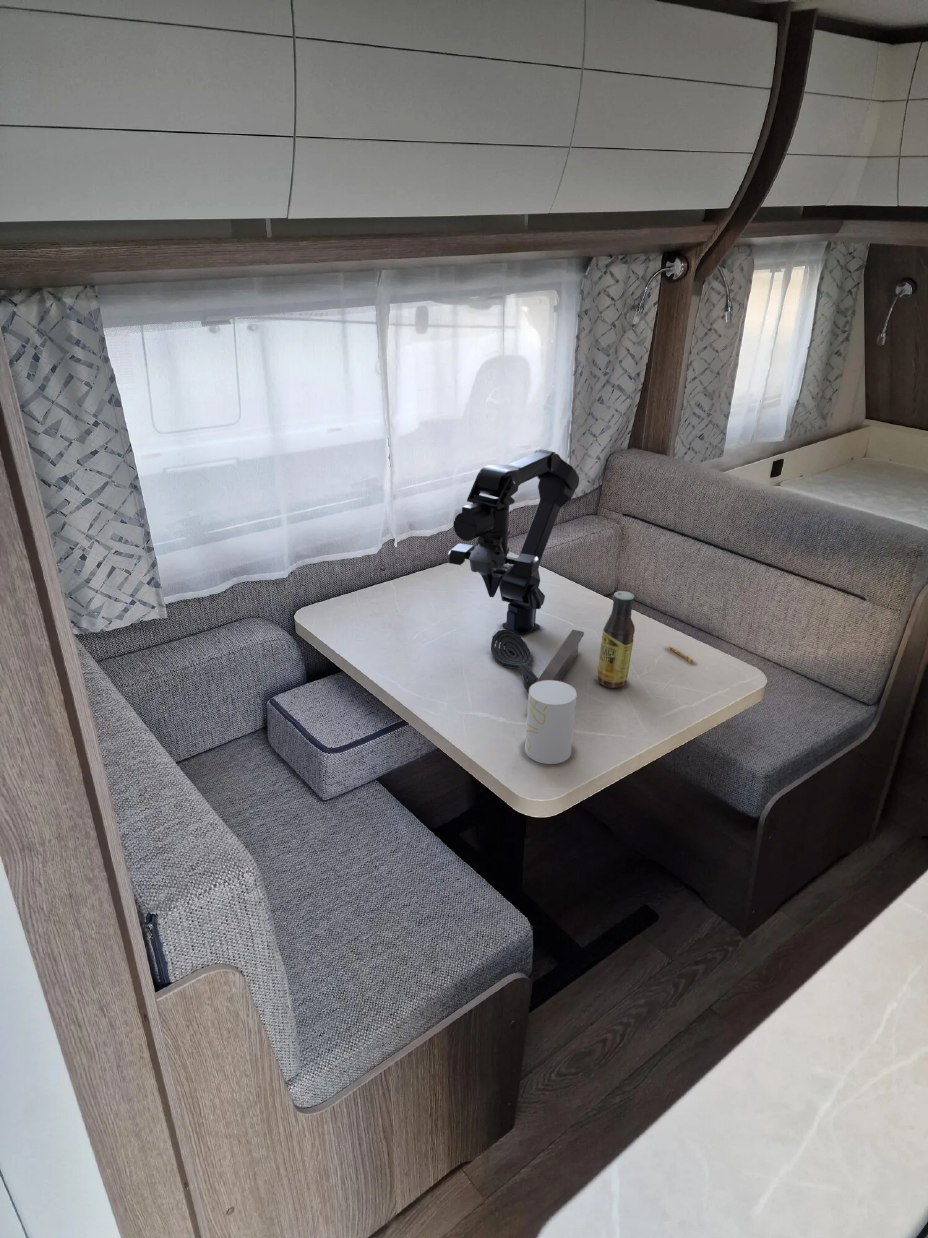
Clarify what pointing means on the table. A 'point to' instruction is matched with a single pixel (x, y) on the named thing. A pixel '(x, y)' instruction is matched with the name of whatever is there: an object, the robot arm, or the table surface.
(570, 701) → the cup
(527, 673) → the hairbrush
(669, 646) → the golden brown bumpy stick
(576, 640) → the rail
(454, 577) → the table surface
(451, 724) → the table surface
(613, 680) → the sauce bottle
